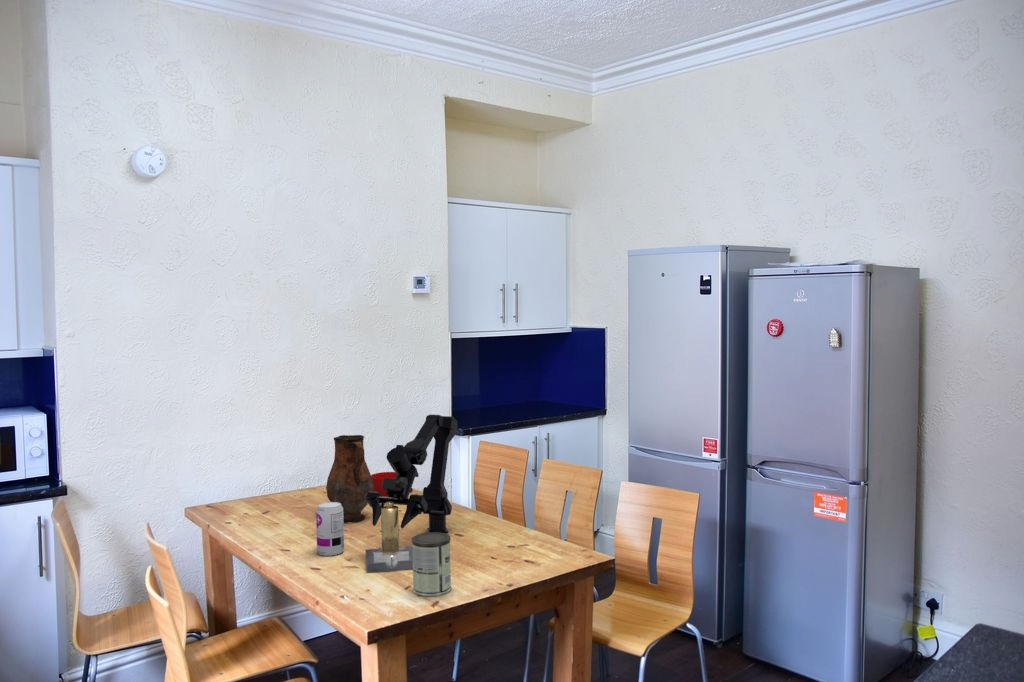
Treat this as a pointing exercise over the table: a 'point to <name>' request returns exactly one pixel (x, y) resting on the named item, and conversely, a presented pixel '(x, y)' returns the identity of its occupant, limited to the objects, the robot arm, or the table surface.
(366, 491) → the pitcher
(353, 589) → the table surface
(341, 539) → the supplement can
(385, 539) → the brass weight
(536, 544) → the table surface
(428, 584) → the coffee can
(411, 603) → the table surface
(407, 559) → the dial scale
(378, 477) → the ceramic cup
